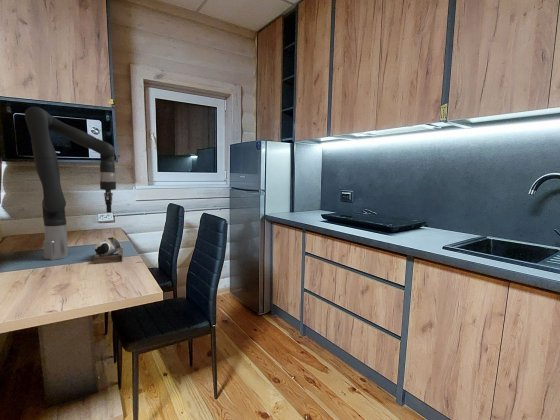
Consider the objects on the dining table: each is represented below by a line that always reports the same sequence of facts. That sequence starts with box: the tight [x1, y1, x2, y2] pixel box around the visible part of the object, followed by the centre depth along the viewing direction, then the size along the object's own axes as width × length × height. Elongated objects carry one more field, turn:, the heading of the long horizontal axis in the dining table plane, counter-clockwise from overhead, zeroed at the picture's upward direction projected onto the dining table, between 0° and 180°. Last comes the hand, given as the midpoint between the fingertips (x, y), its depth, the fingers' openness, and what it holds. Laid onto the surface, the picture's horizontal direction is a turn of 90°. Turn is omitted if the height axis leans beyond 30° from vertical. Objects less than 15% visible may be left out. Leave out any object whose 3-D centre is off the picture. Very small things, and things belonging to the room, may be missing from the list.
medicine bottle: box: [94, 236, 123, 256], centre depth 158 cm, size 7×7×12 cm
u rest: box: [93, 247, 124, 265], centre depth 156 cm, size 18×12×3 cm, turn 26°
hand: (109, 212), depth 163 cm, fingers closed
